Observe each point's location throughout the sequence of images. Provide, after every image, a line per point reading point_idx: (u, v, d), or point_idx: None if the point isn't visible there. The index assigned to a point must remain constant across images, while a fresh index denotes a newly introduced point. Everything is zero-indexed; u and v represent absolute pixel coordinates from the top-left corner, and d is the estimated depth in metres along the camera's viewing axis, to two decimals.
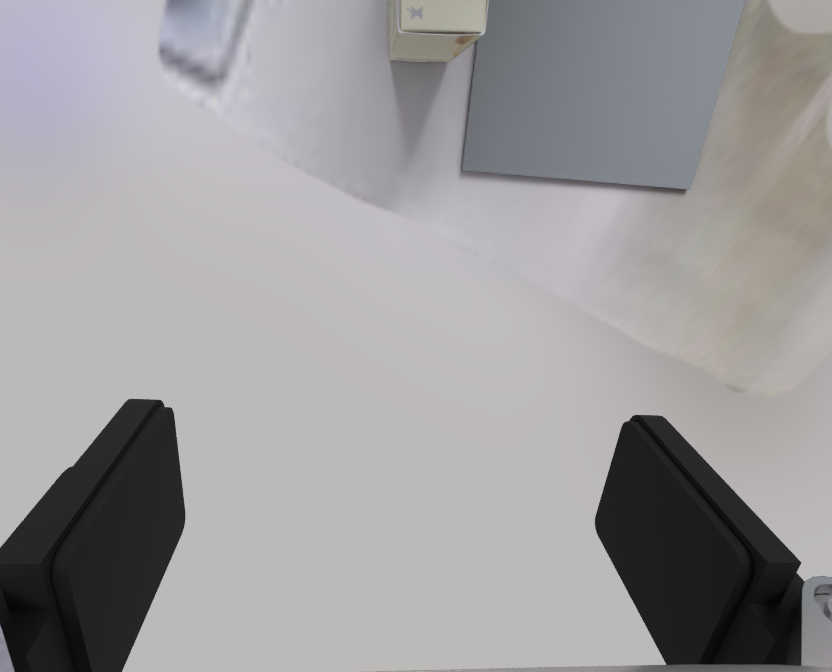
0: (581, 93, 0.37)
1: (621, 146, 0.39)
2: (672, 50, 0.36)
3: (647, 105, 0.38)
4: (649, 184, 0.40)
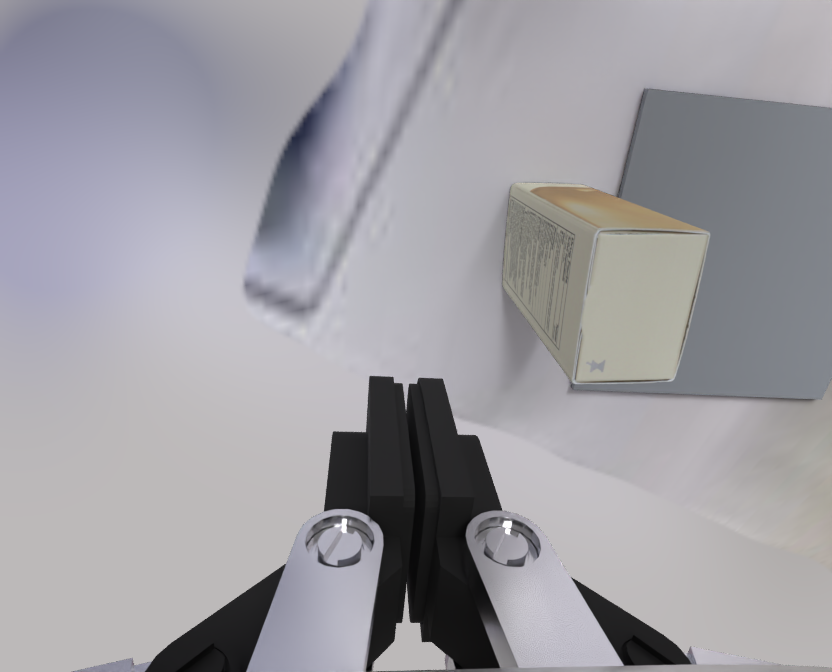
0: (713, 313, 0.33)
1: (751, 362, 0.34)
2: (819, 270, 0.32)
3: (785, 322, 0.33)
4: (777, 396, 0.36)
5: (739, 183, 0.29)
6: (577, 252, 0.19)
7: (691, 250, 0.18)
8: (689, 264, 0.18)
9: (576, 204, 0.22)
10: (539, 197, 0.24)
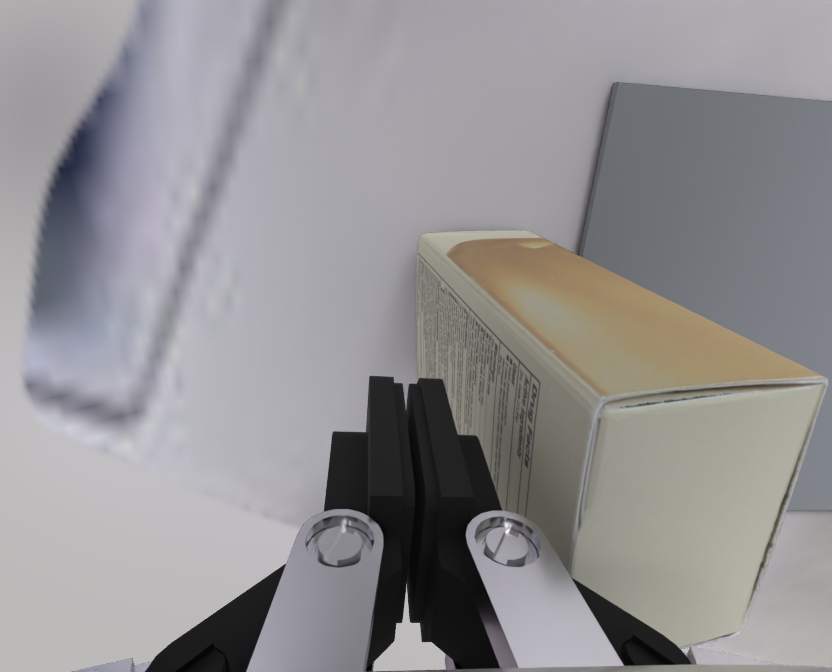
0: None
1: None
2: None
3: (829, 414, 0.23)
4: (816, 508, 0.26)
5: (763, 223, 0.19)
6: (549, 424, 0.09)
7: (791, 417, 0.08)
8: (784, 444, 0.09)
9: (529, 292, 0.12)
10: (462, 271, 0.14)
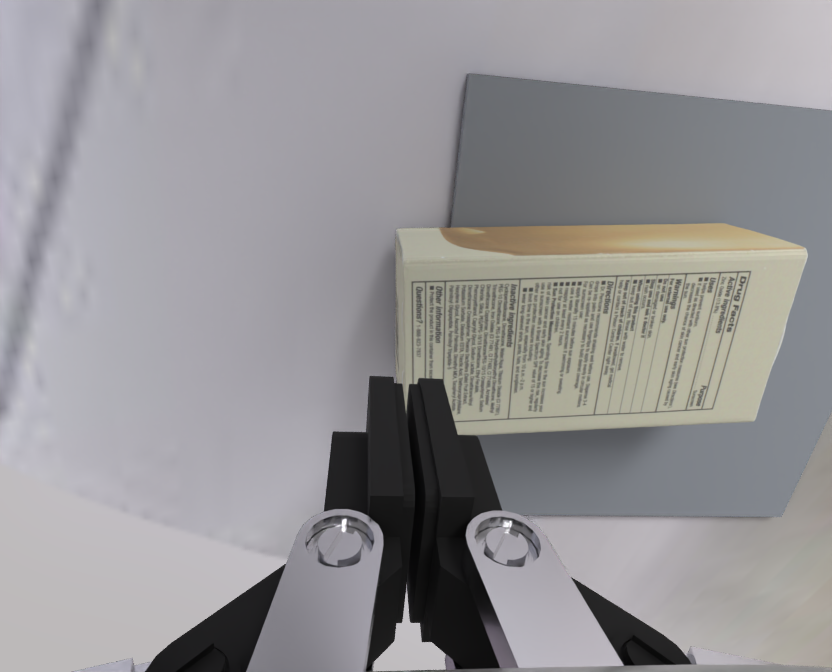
0: None
1: (677, 471, 0.24)
2: None
3: None
4: (718, 514, 0.25)
5: (635, 221, 0.19)
6: (762, 288, 0.16)
7: None
8: None
9: (637, 243, 0.16)
10: (575, 255, 0.15)
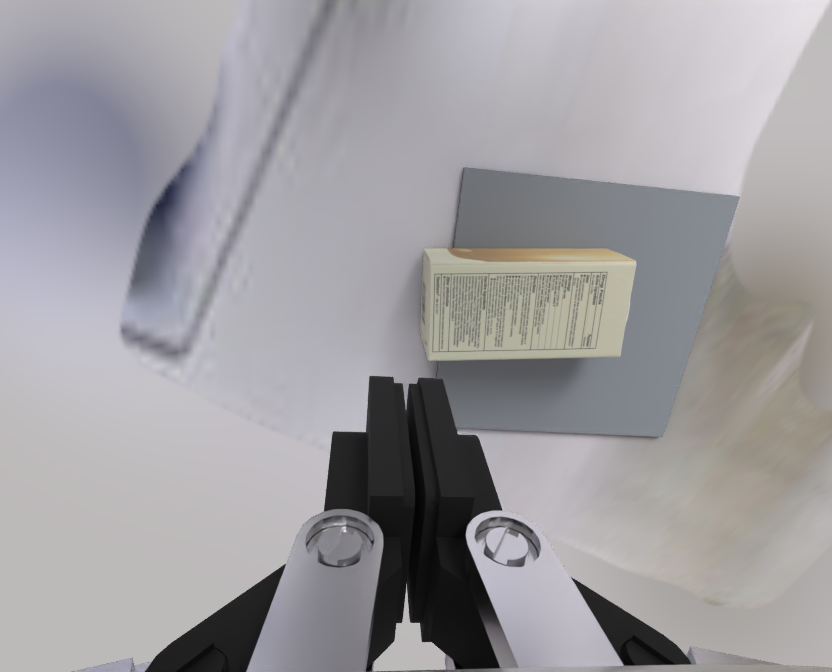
0: (550, 359, 0.37)
1: (592, 402, 0.38)
2: (641, 322, 0.36)
3: (617, 367, 0.37)
4: (621, 433, 0.39)
5: (557, 247, 0.34)
6: (614, 281, 0.30)
7: None
8: None
9: (551, 257, 0.30)
10: (517, 262, 0.29)
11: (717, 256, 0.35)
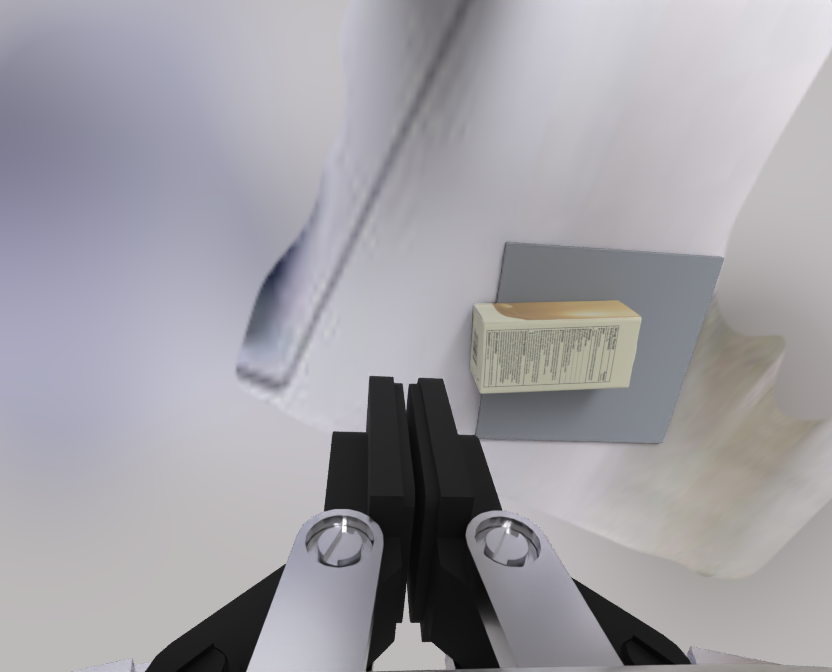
0: None
1: (605, 417, 0.47)
2: (645, 354, 0.45)
3: (626, 390, 0.46)
4: (628, 441, 0.49)
5: (578, 299, 0.42)
6: (624, 332, 0.39)
7: None
8: None
9: (575, 313, 0.39)
10: (549, 320, 0.38)
11: (706, 303, 0.43)
